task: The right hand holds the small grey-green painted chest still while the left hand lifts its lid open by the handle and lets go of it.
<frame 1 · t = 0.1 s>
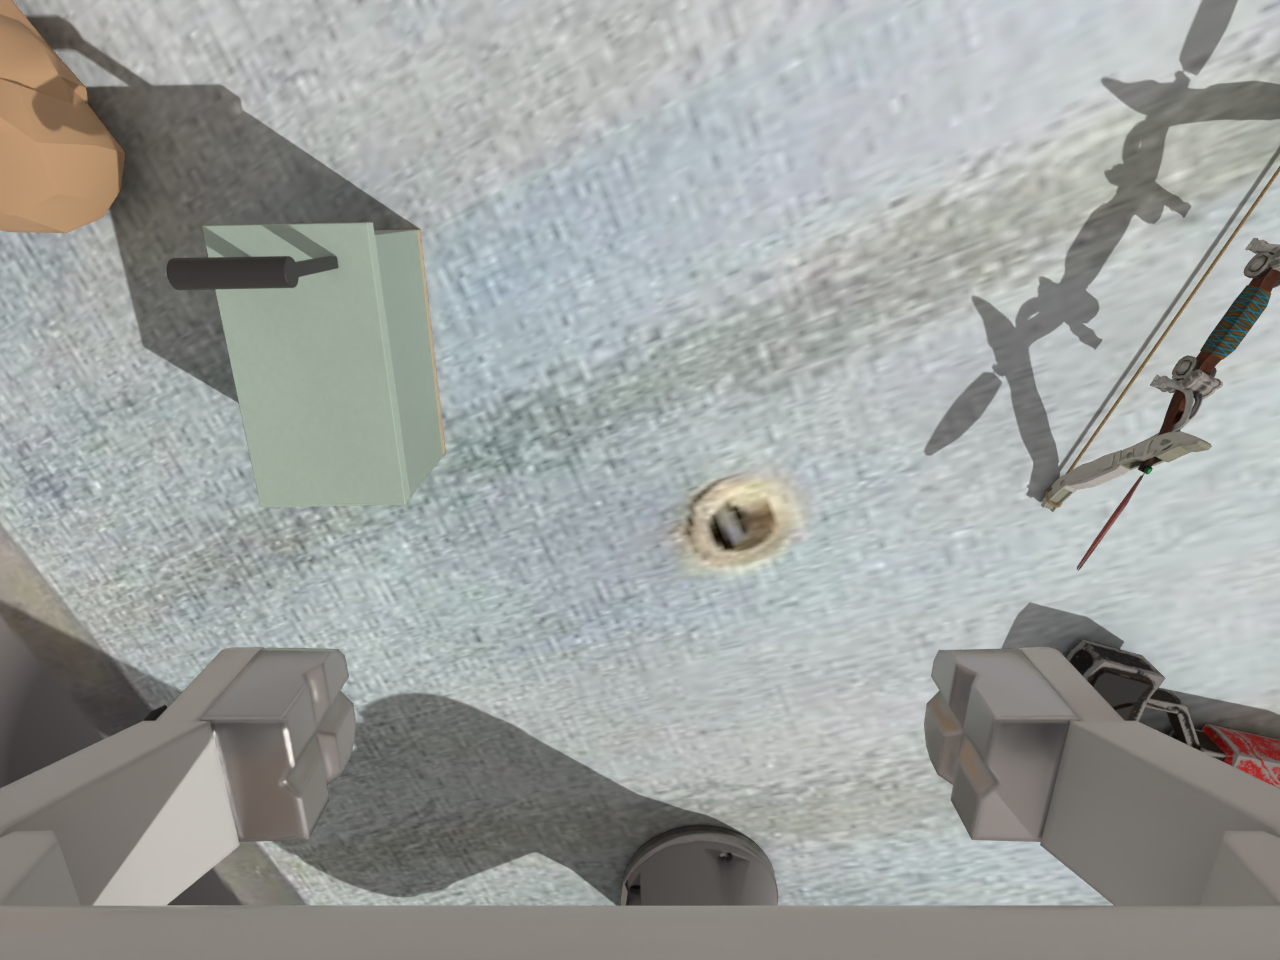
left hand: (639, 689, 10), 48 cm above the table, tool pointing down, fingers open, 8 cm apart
gun: (1160, 751, 70), on the table
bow: (1177, 311, 56), on the table
chest: (370, 348, 57), on the table
squash: (31, 83, 51), on the table
lid: (287, 386, 43), point 14 cm above the table, hinge at 0.0°
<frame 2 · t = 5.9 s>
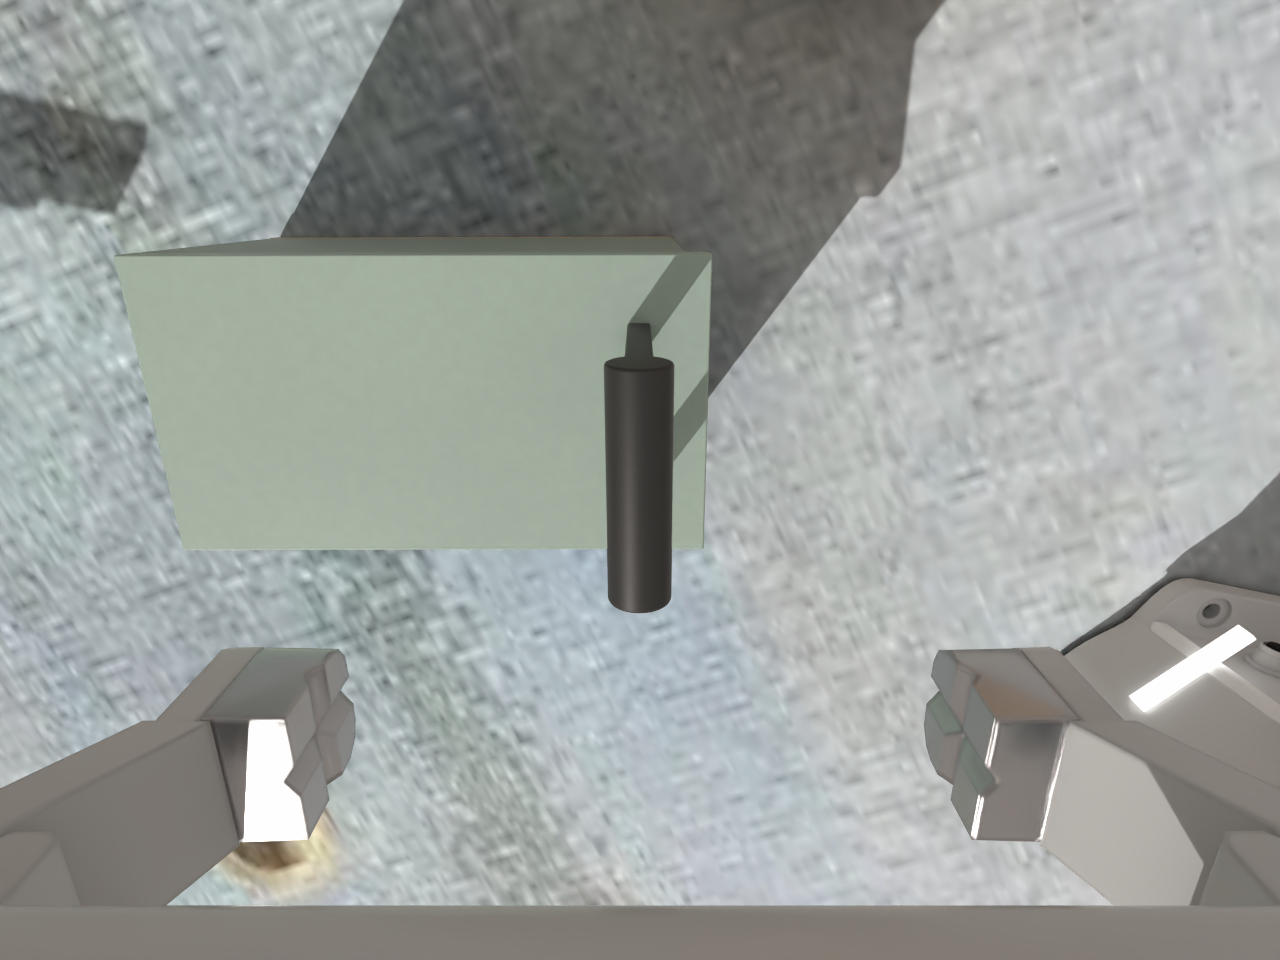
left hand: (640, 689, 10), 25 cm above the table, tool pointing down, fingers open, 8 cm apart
chest: (484, 348, 34), on the table
lid: (399, 442, 21), point 14 cm above the table, hinge at 0.0°
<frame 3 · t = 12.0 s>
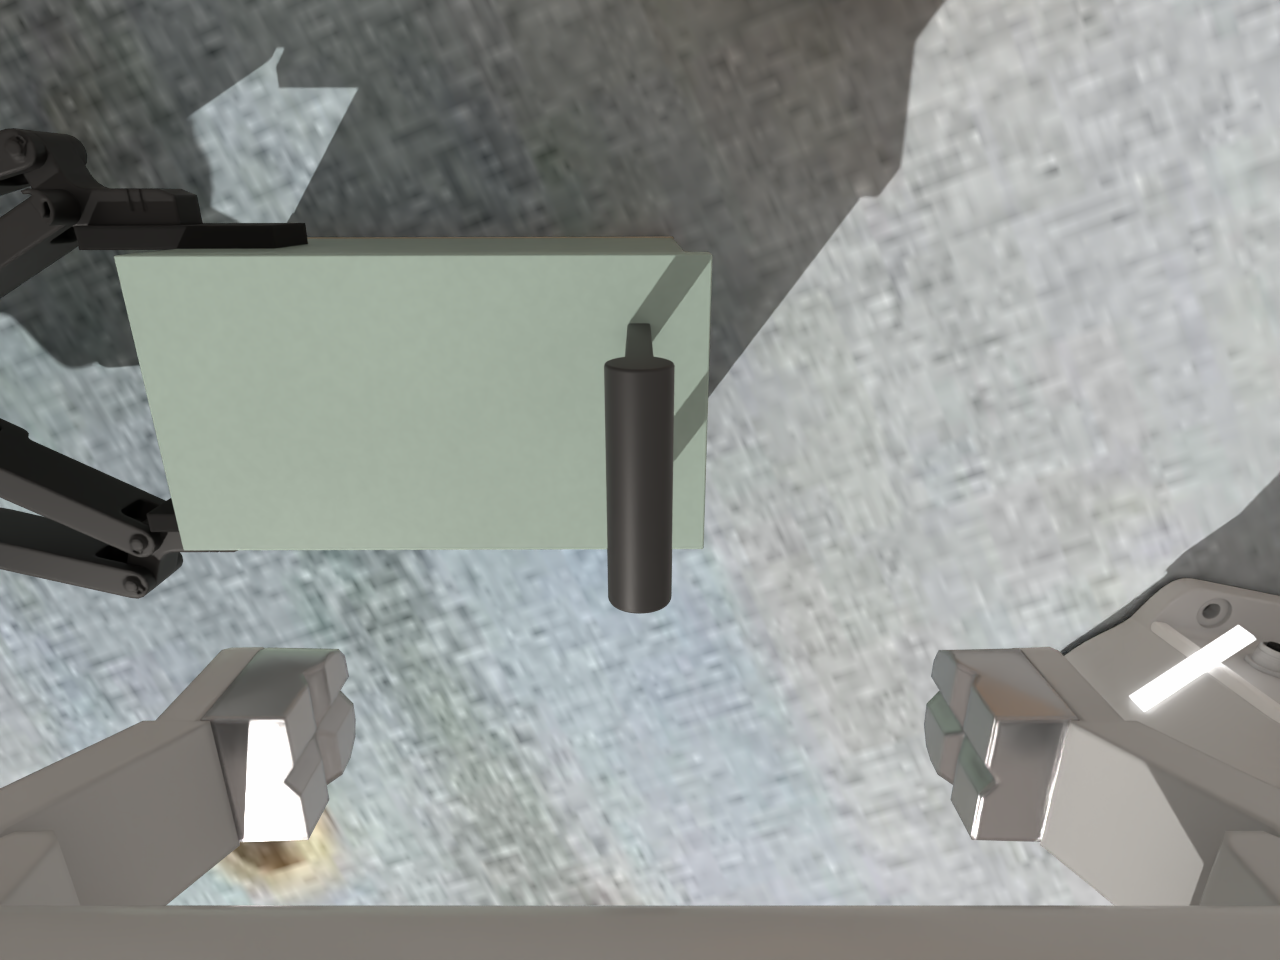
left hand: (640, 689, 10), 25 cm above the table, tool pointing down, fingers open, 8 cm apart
right hand: (313, 380, 28), fingers closed on chest, 10 cm apart
chest: (484, 348, 34), on the table, touching right hand
lid: (399, 443, 21), point 14 cm above the table, hinge at 0.0°
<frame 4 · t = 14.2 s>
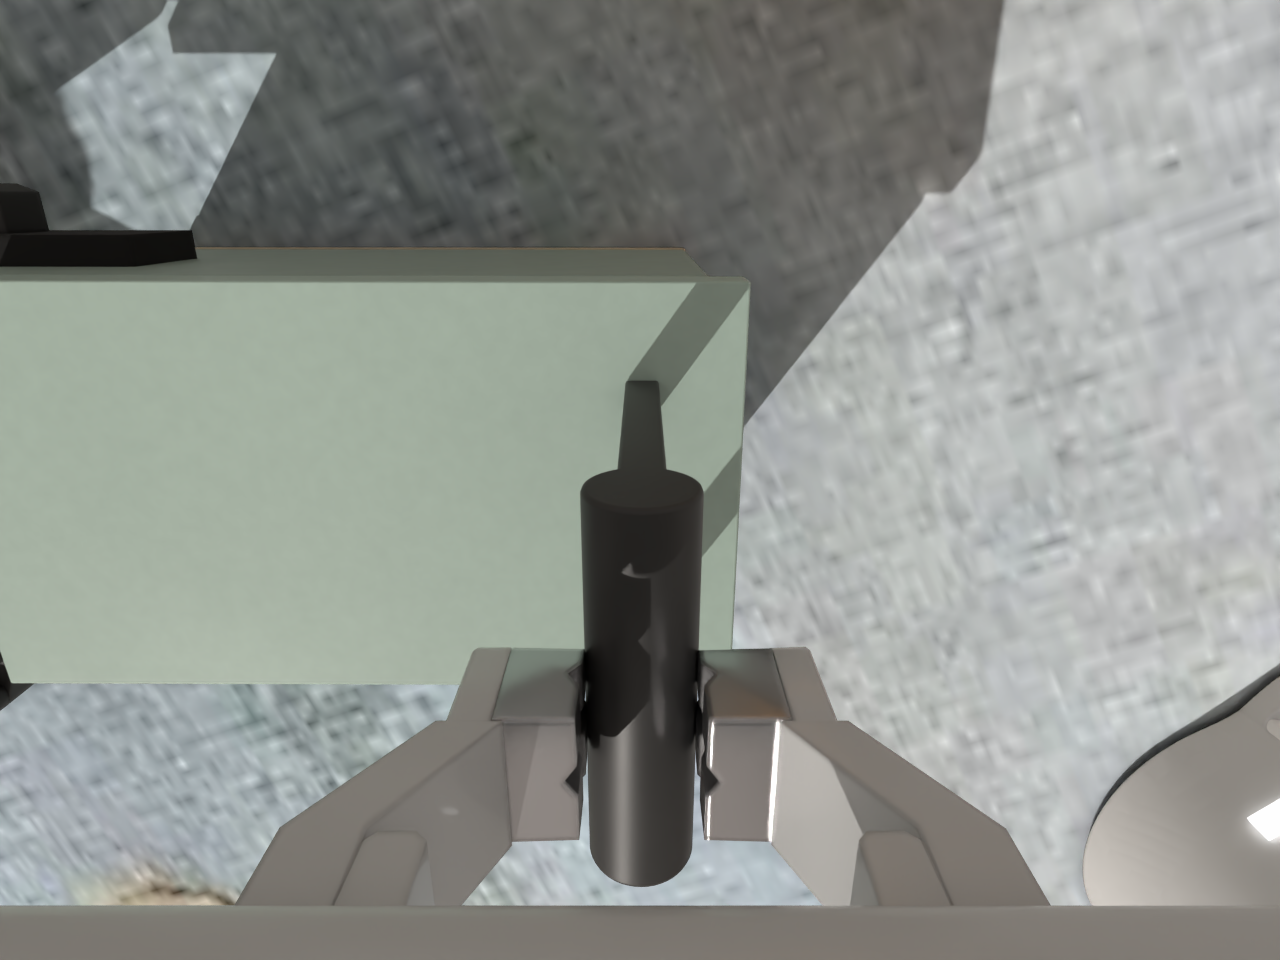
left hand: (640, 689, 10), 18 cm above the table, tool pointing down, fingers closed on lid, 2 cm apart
chest: (445, 387, 27), on the table, touching right hand
lid: (278, 568, 14), point 14 cm above the table, hinge at 0.4°, touching left hand
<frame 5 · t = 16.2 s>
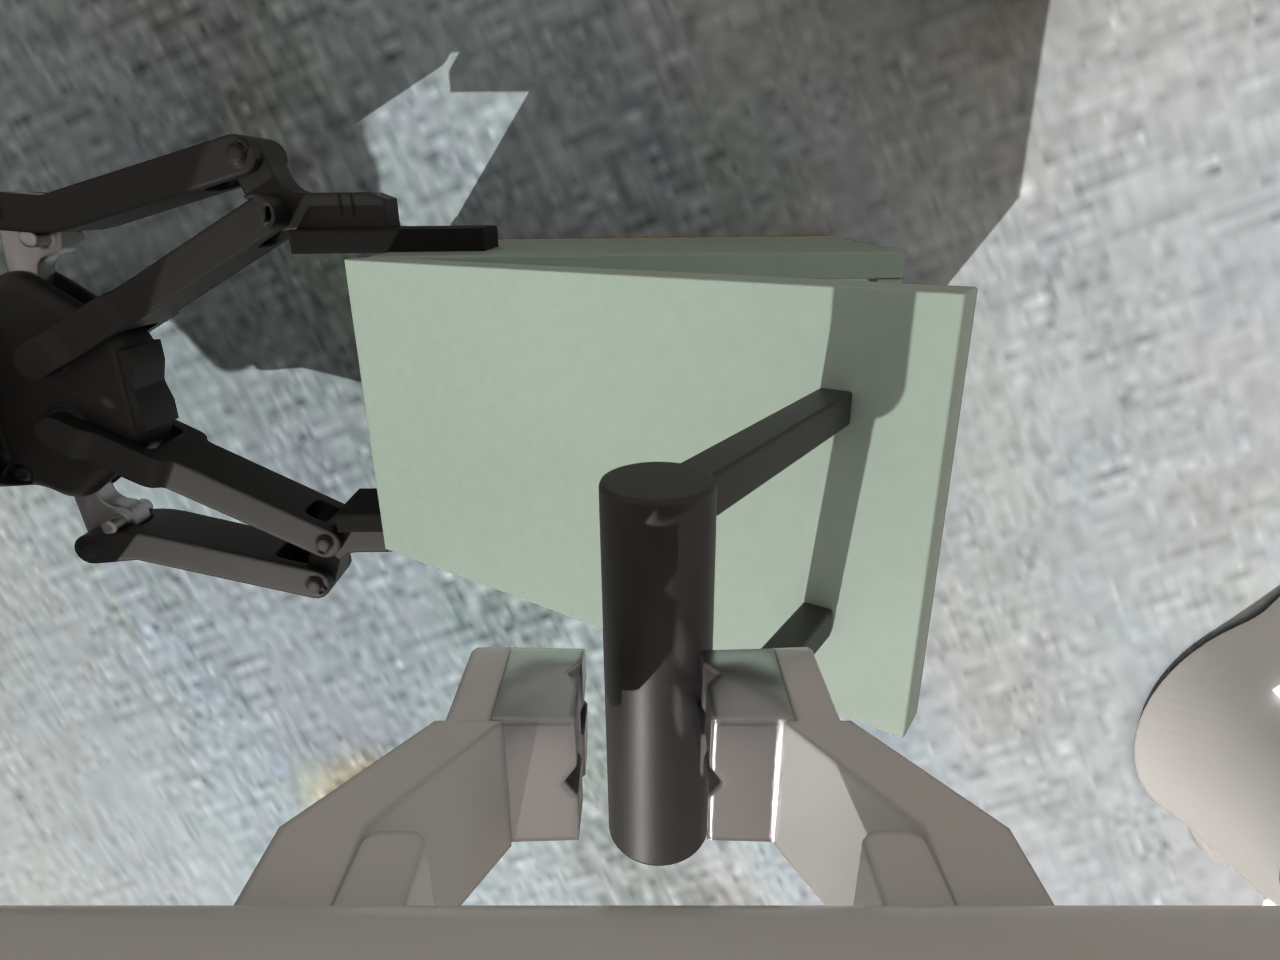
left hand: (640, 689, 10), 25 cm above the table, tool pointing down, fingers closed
right hand: (501, 381, 28), fingers closed on chest, 10 cm apart
chest: (638, 348, 34), on the table, touching right hand
lid: (494, 501, 17), point 18 cm above the table, hinge at 34.2°, touching left hand
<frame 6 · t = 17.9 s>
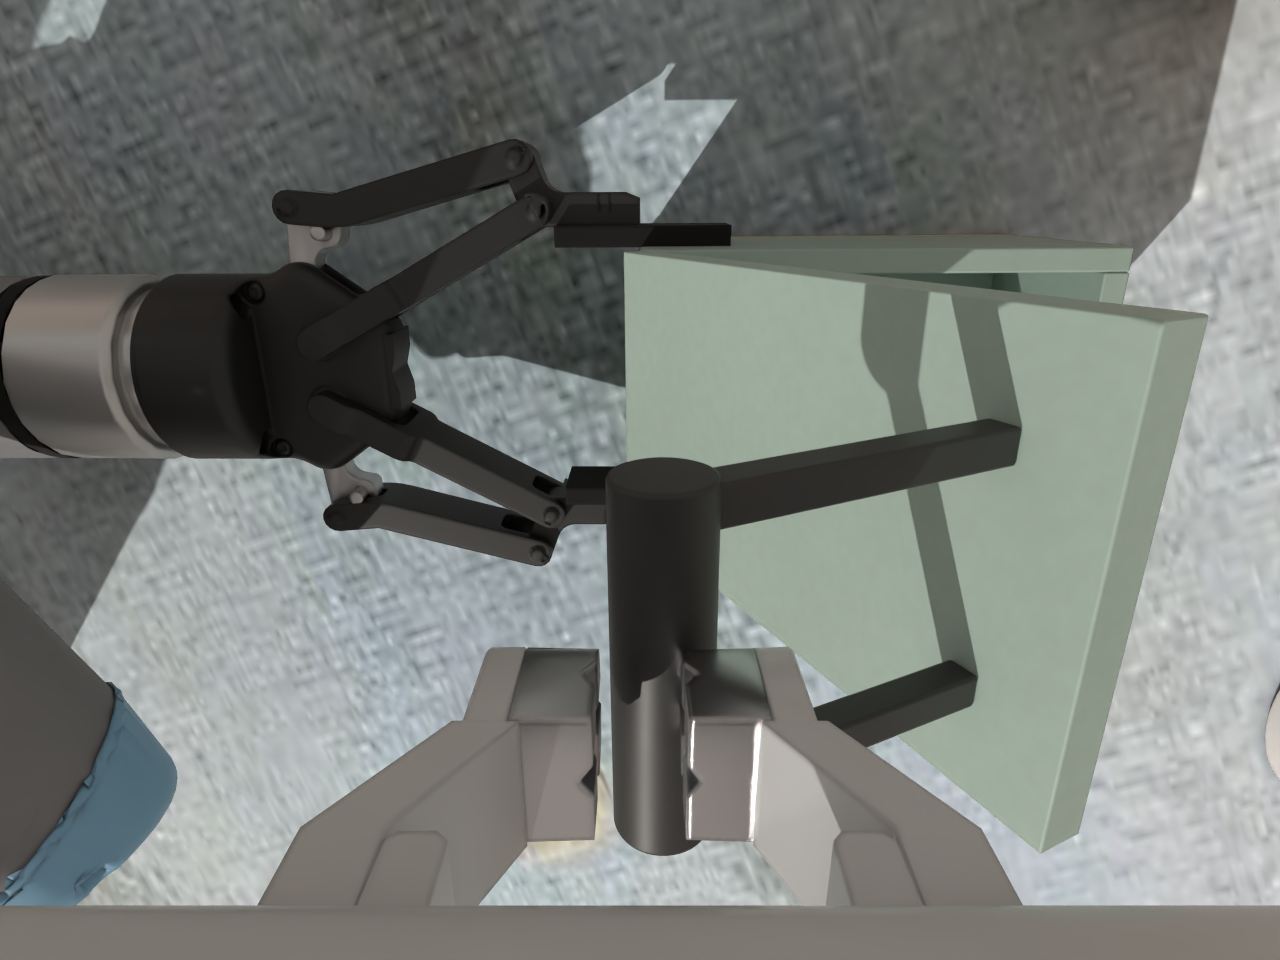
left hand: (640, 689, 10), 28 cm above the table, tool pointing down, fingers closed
right hand: (723, 367, 31), fingers closed on chest, 10 cm apart
chest: (817, 339, 36), on the table, touching right hand
lid: (661, 483, 18), point 20 cm above the table, hinge at 62.6°, touching left hand
when the right hand's fingers open (6 cm above the table, at t = 21.8 s): chest stays where it is, on the table.
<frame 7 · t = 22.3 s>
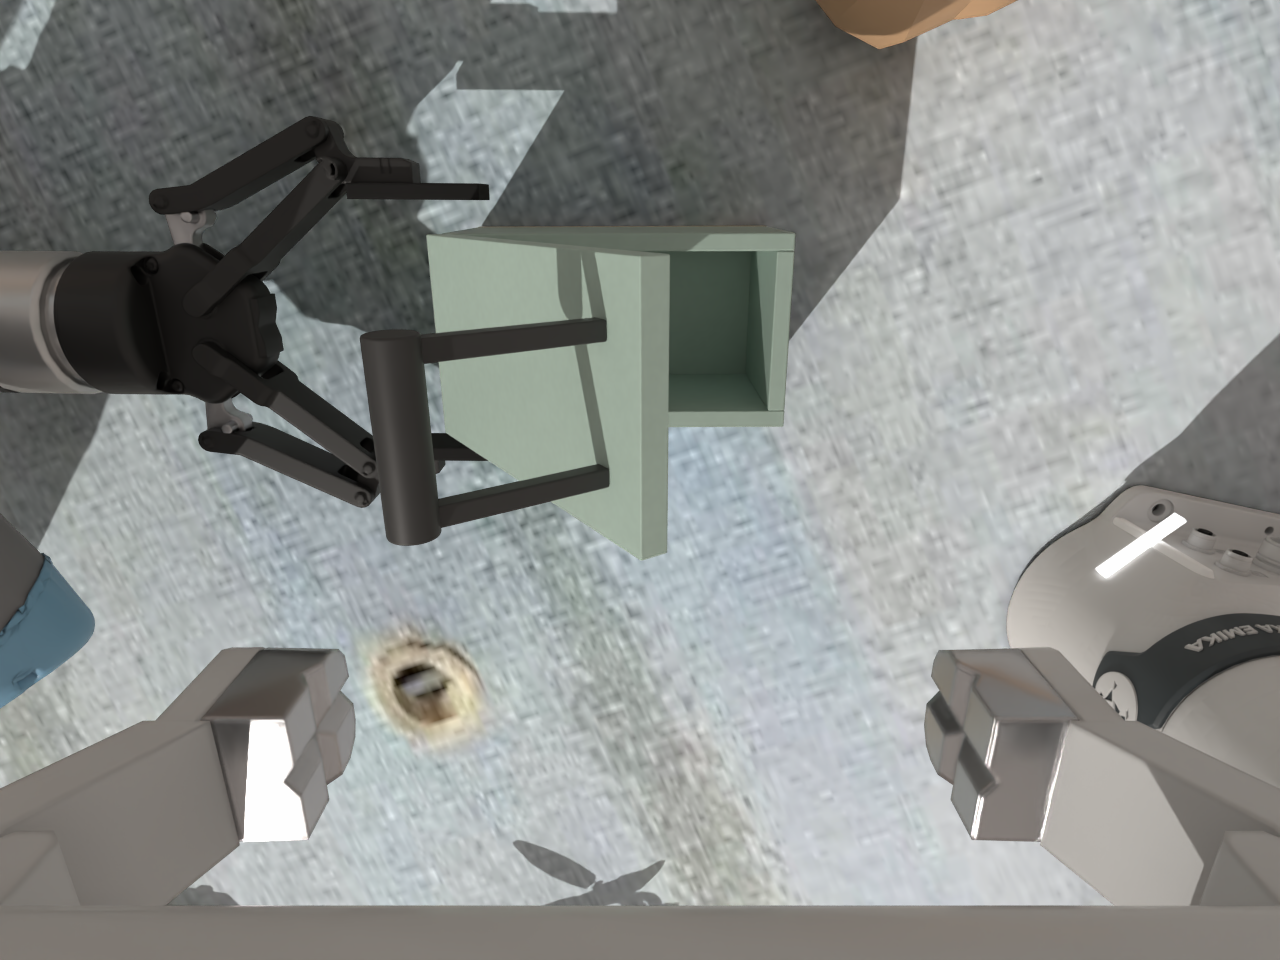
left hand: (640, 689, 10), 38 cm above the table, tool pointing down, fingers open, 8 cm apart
right hand: (493, 327, 41), fingers open, 13 cm apart
chest: (623, 308, 46), on the table
lid: (437, 380, 28), point 20 cm above the table, hinge at 55.7°
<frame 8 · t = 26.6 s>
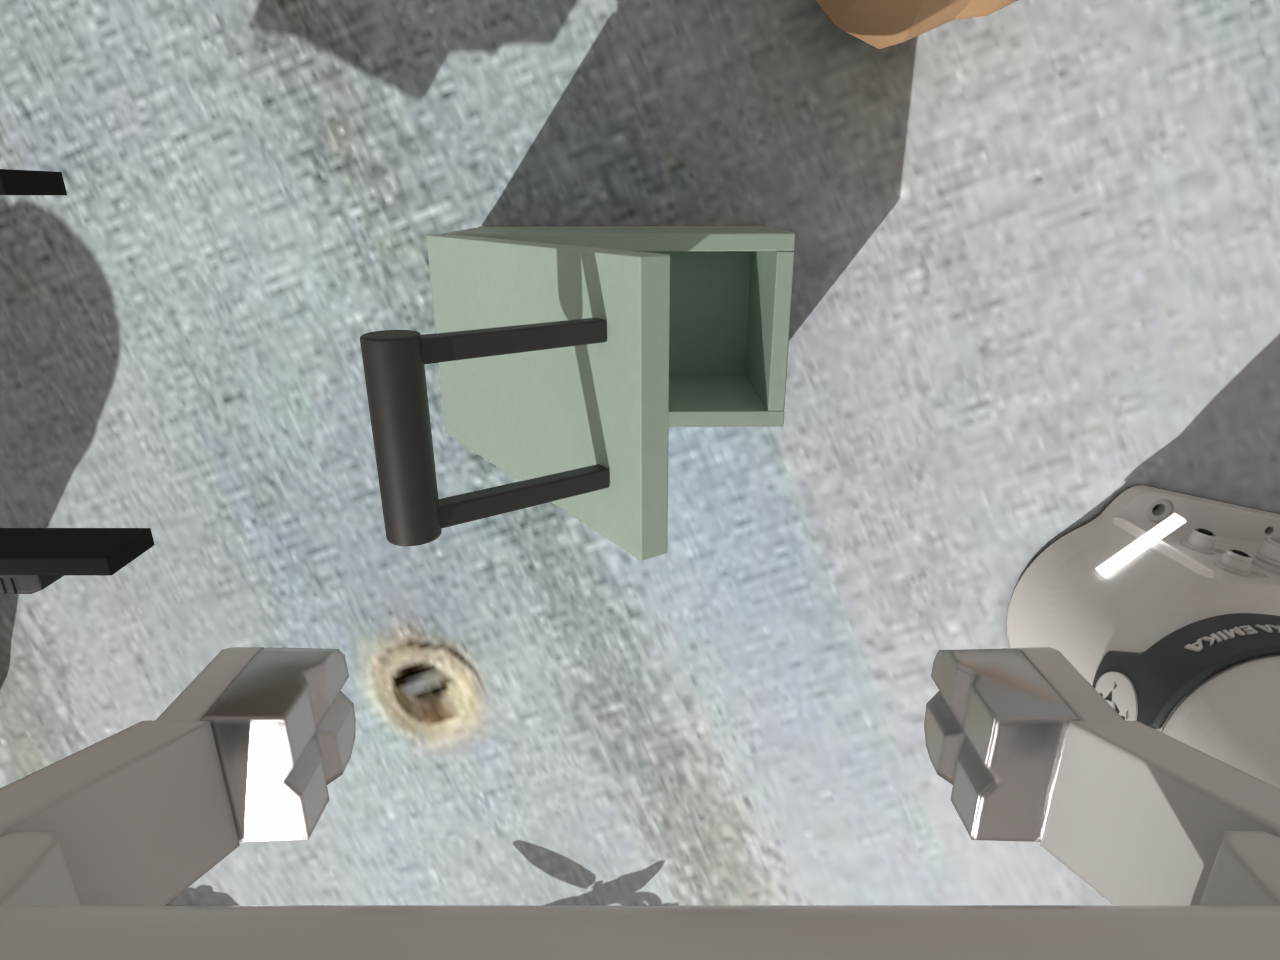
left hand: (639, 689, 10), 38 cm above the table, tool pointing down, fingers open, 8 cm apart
chest: (623, 308, 46), on the table
lid: (437, 380, 28), point 20 cm above the table, hinge at 55.7°
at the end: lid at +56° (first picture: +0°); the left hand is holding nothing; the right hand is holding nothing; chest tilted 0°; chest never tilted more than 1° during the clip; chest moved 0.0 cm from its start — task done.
